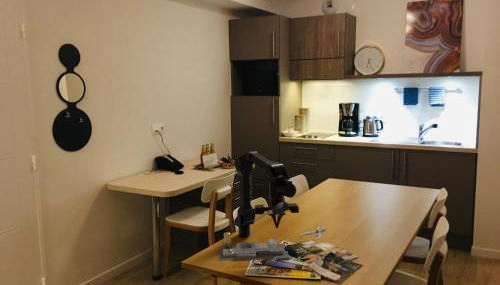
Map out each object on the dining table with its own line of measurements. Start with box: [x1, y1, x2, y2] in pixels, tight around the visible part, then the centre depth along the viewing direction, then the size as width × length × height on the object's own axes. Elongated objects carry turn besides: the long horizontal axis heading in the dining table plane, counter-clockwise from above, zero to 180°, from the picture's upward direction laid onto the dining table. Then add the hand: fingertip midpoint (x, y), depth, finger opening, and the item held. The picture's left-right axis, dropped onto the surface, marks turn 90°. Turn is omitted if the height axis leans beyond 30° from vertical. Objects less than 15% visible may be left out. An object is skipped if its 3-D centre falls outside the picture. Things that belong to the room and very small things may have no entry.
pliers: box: [299, 226, 327, 241], centre depth 202 cm, size 10×2×15 cm
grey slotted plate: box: [223, 247, 284, 258], centre depth 178 cm, size 8×26×2 cm, turn 93°
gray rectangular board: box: [217, 243, 290, 262], centre depth 180 cm, size 16×30×1 cm, turn 93°
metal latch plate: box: [236, 238, 278, 254], centre depth 177 cm, size 8×17×3 cm, turn 93°
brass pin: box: [223, 231, 232, 249], centre depth 184 cm, size 3×3×7 cm
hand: (276, 228), depth 177 cm, fingers closed
